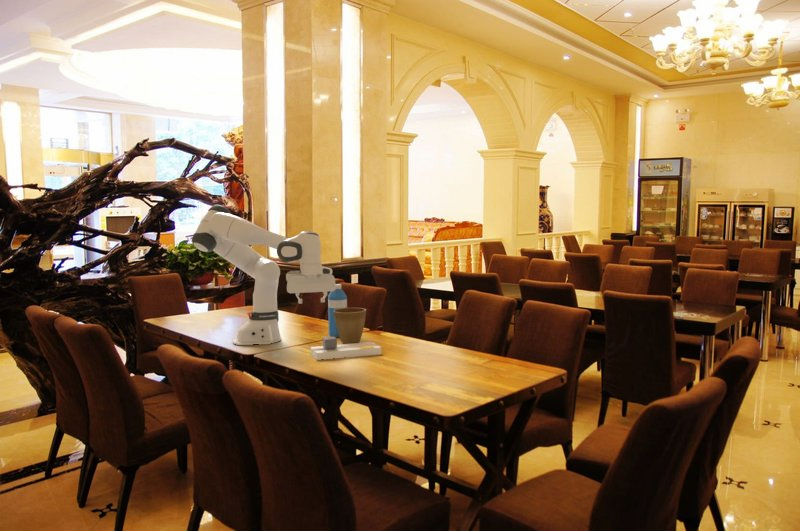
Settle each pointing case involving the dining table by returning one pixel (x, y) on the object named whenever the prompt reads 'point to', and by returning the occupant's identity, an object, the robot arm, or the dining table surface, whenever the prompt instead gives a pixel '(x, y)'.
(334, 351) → the switch plate
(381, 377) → the dining table surface
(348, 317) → the plant pot
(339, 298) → the water bottle
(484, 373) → the dining table surface
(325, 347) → the switch knob
